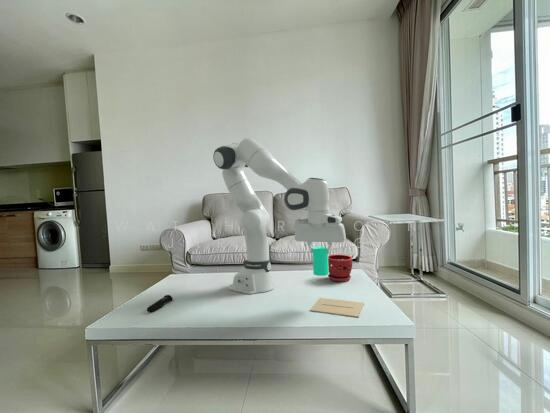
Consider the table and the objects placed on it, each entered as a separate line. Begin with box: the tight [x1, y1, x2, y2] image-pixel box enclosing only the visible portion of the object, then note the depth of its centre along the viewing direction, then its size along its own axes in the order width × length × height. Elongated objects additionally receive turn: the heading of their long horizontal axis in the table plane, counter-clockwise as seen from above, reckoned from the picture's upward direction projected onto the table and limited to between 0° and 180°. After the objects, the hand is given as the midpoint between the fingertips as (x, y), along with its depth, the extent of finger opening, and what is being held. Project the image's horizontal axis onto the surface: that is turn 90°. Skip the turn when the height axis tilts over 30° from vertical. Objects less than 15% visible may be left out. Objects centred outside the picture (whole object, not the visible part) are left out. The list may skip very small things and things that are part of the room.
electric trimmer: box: [146, 294, 173, 313], centre depth 119 cm, size 4×16×3 cm, turn 170°
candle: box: [312, 246, 330, 277], centre depth 112 cm, size 6×6×12 cm
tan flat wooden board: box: [309, 297, 365, 318], centre depth 110 cm, size 18×14×1 cm
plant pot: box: [327, 254, 353, 283], centre depth 147 cm, size 13×13×12 cm
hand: (320, 253), depth 112 cm, fingers closed on candle, 5 cm apart
